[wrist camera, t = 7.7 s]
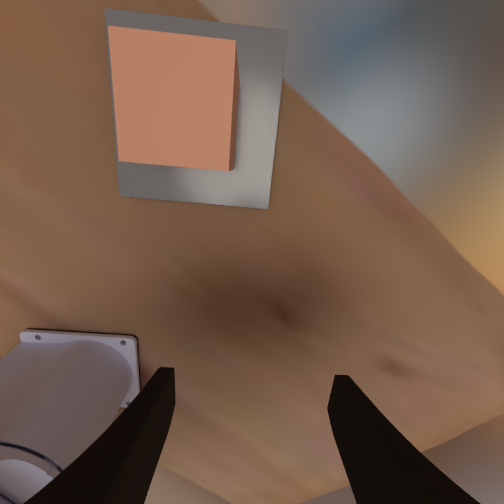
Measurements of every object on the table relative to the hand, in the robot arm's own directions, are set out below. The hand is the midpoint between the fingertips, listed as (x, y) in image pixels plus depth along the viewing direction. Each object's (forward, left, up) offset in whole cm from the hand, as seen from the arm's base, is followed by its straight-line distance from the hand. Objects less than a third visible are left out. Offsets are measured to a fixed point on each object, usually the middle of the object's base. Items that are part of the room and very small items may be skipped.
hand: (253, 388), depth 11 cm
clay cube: (-4, +12, -9) cm, 15 cm away
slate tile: (-4, +12, -10) cm, 16 cm away
